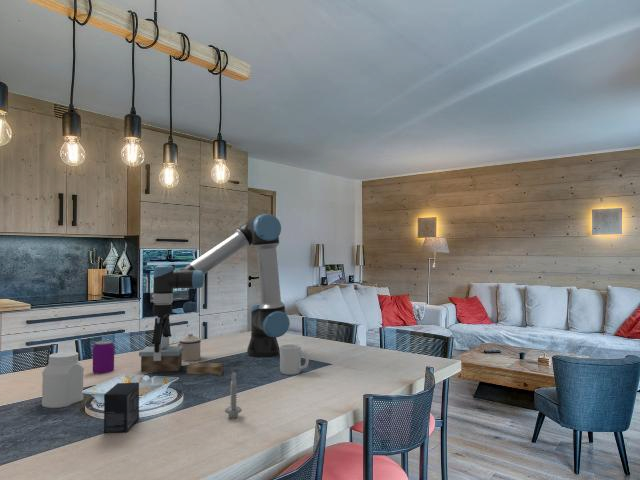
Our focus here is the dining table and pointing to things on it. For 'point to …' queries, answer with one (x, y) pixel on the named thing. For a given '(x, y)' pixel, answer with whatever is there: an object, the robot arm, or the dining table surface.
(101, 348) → the beverage can
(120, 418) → the small box
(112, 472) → the dining table surface
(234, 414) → the screw
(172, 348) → the lid
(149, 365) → the walnut box
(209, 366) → the block
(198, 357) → the teacup with lid
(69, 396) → the jar
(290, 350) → the mug
